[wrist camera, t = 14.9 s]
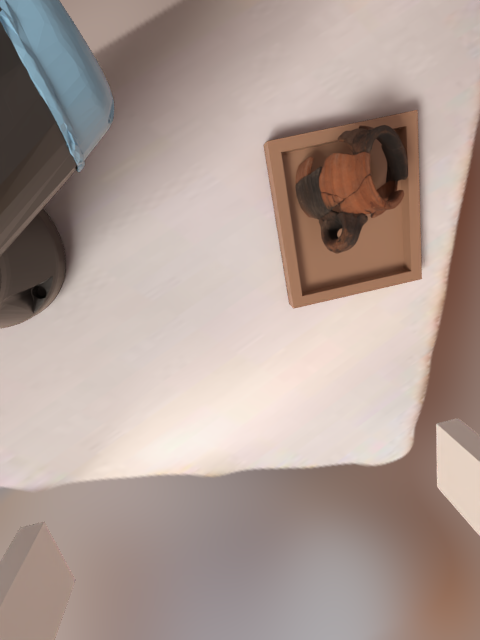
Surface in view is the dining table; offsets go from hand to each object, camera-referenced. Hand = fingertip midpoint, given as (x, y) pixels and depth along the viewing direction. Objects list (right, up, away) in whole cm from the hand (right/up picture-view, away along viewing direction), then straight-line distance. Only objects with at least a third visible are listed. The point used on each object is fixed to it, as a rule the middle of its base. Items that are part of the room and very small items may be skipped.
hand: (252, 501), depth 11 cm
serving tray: (+11, +18, +26) cm, 33 cm away
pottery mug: (+10, +20, +25) cm, 33 cm away
